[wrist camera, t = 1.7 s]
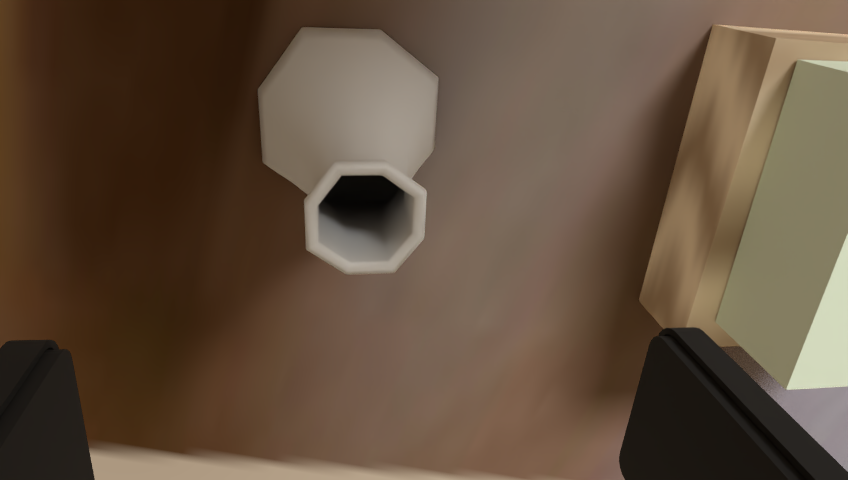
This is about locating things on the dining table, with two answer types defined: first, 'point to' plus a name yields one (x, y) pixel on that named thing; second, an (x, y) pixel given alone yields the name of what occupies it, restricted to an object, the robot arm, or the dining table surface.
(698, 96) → the birch base block
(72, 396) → the robot arm
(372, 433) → the dining table surface
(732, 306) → the sage top block
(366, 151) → the flask
